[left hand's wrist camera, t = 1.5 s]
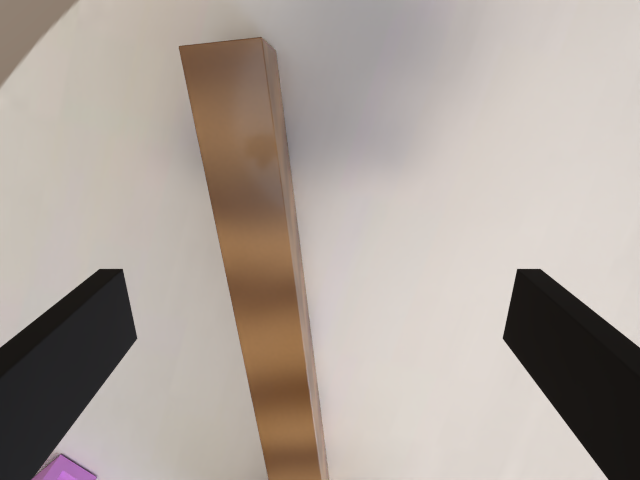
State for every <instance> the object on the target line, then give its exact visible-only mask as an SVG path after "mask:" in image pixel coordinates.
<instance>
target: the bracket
mask: <svg viewBox="0 0 640 480" xmlns="http://www.w3.org/2000/svg"><path fill="white" fill-rule="evenodd" d="M96 478H97V477H95V476H94V475H92V474H91V473H89V472H88V471H86V470H84V469H83V468H81V467H80V466H78V465H76V464H75V463H73V462H72V461H70V460H68V459H67V458H65V457H64V456H62V455H60V456H58V457H57V458H56V459H55V460H54V461H52V462H51V463H50V464H49V465H48V466H47V467H45V468H44V469H43V470H42V471H41V472H40V473H38V474H37V475H36V476H35V477H34V478H33V479H32V480H96Z"/></svg>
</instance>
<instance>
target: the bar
mask: <svg viewBox="0 0 640 480" xmlns="http://www.w3.org/2000/svg"><path fill="white" fill-rule="evenodd" d="M179 50H180V55H181V60H182V65H183V70H184V75H185V79H186V84H187V89H188V94H189V99H190V103H191V108H192V113H193V118H194V123H195V127H196V132H197V137H198V142H199V147H200V152H201V156H202V161H203V166H204V171H205V176H206V180H207V185H208V190H209V195H210V200H211V204H212V209H213V214H214V219H215V224H216V229H217V233H218V238H219V243H220V248H221V253H222V257H223V262H224V267H225V272H226V277H227V282H228V286H229V291H230V296H231V301H232V306H233V310H234V315H235V320H236V325H237V330H238V334H239V339H240V344H241V349H242V354H243V359H244V363H245V368H246V373H247V378H248V383H249V387H250V392H251V397H252V402H253V407H254V411H255V416H256V421H257V426H258V431H259V436H260V440H261V445H262V450H263V455H264V460H265V464H266V469H267V474H268V479H269V480H329V474H328V466H327V457H326V449H325V441H324V433H323V425H322V417H321V409H320V401H319V393H318V385H317V377H316V369H315V361H314V353H313V345H312V337H311V329H310V321H309V313H308V305H307V297H306V289H305V281H304V273H303V265H302V257H301V249H300V241H299V233H298V225H297V217H296V209H295V201H294V193H293V185H292V176H291V168H290V160H289V152H288V144H287V136H286V128H285V120H284V112H283V104H282V96H281V88H280V80H279V72H278V64H277V56H276V50H275V49H274V48H272V47H271V46H270V45H269V44H268V43H267V42H266V41H265V40H264V39H263V38H262V37H257V38H248V39H239V40H230V41H221V42H212V43H203V44H193V45H184V46H179Z"/></svg>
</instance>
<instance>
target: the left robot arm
mask: <svg viewBox="0 0 640 480" xmlns="http://www.w3.org/2000/svg"><path fill="white" fill-rule="evenodd" d="M136 339H137V335H136V330H135V325H134V321H133V316H132V311H131V306H130V302H129V297H128V292H127V287H126V282H125V278H124V273H123V269H99V270H98V271H97V272H95V273H94V274H93V275H91V276H90V277H89V278H88V279H86V280H85V281H84V282H83V283H81V284H80V285H79V286H78V287H76V288H75V289H74V290H73V291H71V292H70V293H69V294H67V295H66V296H65V297H64V298H62V299H61V300H60V301H59V302H57V303H56V304H55V305H54V306H52V307H51V308H50V309H49V310H47V311H46V312H45V313H44V314H42V315H41V316H40V317H38V318H37V319H36V320H35V321H33V322H32V323H31V324H30V325H28V326H27V327H26V328H25V329H23V330H22V331H21V332H20V333H18V334H17V335H16V336H14V337H13V338H12V339H11V340H9V341H8V342H7V343H6V344H4V345H3V346H2V347H1V348H0V480H32V478H33V477H34V476H35V474H36V473H37V472H38V470H39V469H40V468H41V466H42V465H43V464H44V462H45V461H46V460H47V458H48V457H49V456H50V454H51V453H52V452H53V450H54V449H55V448H56V446H57V445H58V444H59V442H60V441H61V440H62V438H63V437H64V436H65V434H66V433H67V432H68V430H69V429H70V428H71V426H72V425H73V424H74V422H75V421H76V420H77V418H78V417H79V416H80V414H81V413H82V412H83V410H84V409H85V408H86V406H87V405H88V404H89V402H90V401H91V400H92V398H93V397H94V396H95V394H96V393H97V392H98V390H99V389H100V388H101V386H102V385H103V384H104V382H105V381H106V380H107V378H108V377H109V376H110V374H111V373H112V372H113V370H114V369H115V368H116V366H117V365H118V363H119V362H120V361H121V359H122V358H123V357H124V355H125V354H126V353H127V351H128V350H129V349H130V347H131V346H132V345H133V343H134V342H135V341H136ZM503 339H504V341H505V342H506V343H507V345H508V346H509V347H510V349H511V350H512V351H513V353H514V354H515V355H516V357H517V358H518V359H519V361H520V362H521V364H522V365H523V366H524V368H525V369H526V370H527V372H528V373H529V374H530V376H531V377H532V378H533V380H534V381H535V382H536V384H537V385H538V386H539V388H540V389H541V390H542V392H543V393H544V394H545V396H546V397H547V398H548V400H549V401H550V402H551V404H552V405H553V406H554V408H555V409H556V410H557V412H558V413H559V414H560V416H561V417H562V418H563V420H564V421H565V422H566V424H567V425H568V426H569V428H570V429H571V430H572V432H573V433H574V434H575V436H576V437H577V438H578V440H579V441H580V442H581V444H582V445H583V446H584V448H585V449H586V450H587V452H588V453H589V454H590V456H591V457H592V458H593V460H594V461H595V462H596V464H597V465H598V466H599V468H600V469H601V470H602V472H603V473H604V474H605V476H606V477H607V478H608V480H640V348H639V347H638V346H637V345H636V344H634V343H633V342H632V341H631V340H629V339H628V338H627V337H626V336H624V335H623V334H622V333H620V332H619V331H618V330H617V329H615V328H614V327H613V326H612V325H610V324H609V323H608V322H607V321H605V320H604V319H603V318H602V317H600V316H599V315H598V314H596V313H595V312H594V311H593V310H591V309H590V308H589V307H588V306H586V305H585V304H584V303H583V302H581V301H580V300H579V299H578V298H576V297H575V296H574V295H572V294H571V293H570V292H569V291H567V290H566V289H565V288H564V287H562V286H561V285H560V284H559V283H557V282H556V281H555V280H554V279H552V278H551V277H550V276H549V275H547V274H546V273H545V272H543V271H542V270H541V269H517V273H516V278H515V282H514V287H513V292H512V297H511V302H510V306H509V311H508V316H507V321H506V325H505V330H504V335H503Z"/></svg>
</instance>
